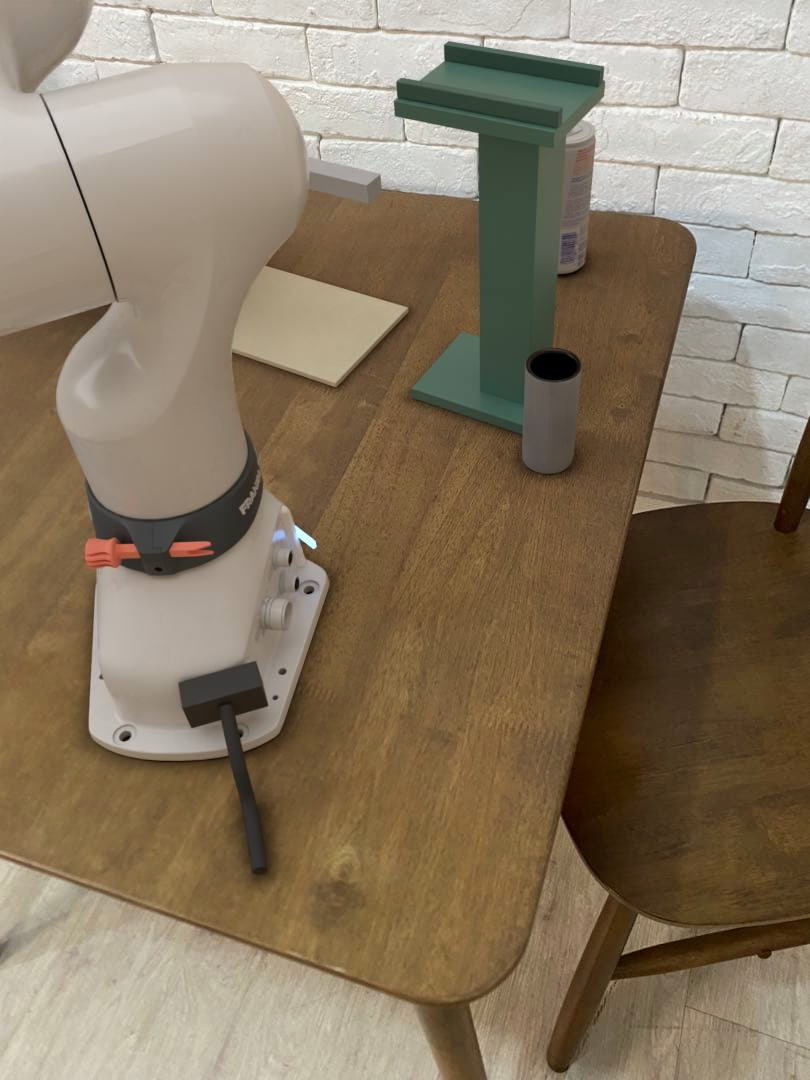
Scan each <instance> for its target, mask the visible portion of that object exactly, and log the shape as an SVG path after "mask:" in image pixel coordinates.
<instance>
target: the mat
mask: <svg viewBox="0 0 810 1080" xmlns="http://www.w3.org/2000/svg"><path fill="white" fill-rule="evenodd" d="M408 313H409V307H408V306H404V305H401V304H397V303H394V302H391V301H387V300H383V299H380V298H378V297H374V296H370V295H366V294H364V293H360V292H356V291H353V290H350V289H346V288H342V287H340V286H335V285H333V284H329V283H326V282H322V281H319V280H315V279H311V278H309V277H305V276H301V275H298V274H294V273H291V272H288V271H285V270H281V269H277V268H274V267H271V266H268V265H265V267H264V268H263V270H262V271H261V273H260V274H259V276H258V278H257V279H256V281H255V283H254V285H253V286H252V288H251V290H250V293H249V295H248V297H247V299H246V301H245V303H244V306H243V309H242V311H241V314H240V317H239V320H238V324H237V327H236V331H235V335H234V340H233V347H232V354H233V353H234V354H236V355H240V356H242V357H246V358H249V359H250V360H251V359H252V360H254V361H257V362H260V363H263V364H265V365H269V366H271V367H274V368H278V369H281V370H282V371H283V370H284V371H286V372H289V373H291V374H296V375H298V376H301V377H304V378H307V379H309V380H313V381H315V382H319V383H321V384H324V385H328V386H331V387H333V388H337V387H338V386H339V385H340V384H341V383H342V382H343V381H344V380H345V379H346V378H347V377H348V376H349V375H350V374H351V373H352V372H353V371H354V370H355V369H356V368H357V366H359V364H360V363H361V362H363V360H364V359H365V358H366V357H367V356H368V355H369V354H370V353H371V352H372V351H373V350H374V348H376V346H377V345H379V343H380V342H382V341H383V339H385V337H386V336H387V335H388V334H389V333H391V331H392V330H393V329H394V328H395V327H396V326H397V325H398V324H399V323H400V322H401V321H402V320H403V318H404V317H406V316H407V315H408Z"/></svg>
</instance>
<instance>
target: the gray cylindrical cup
mask: <svg viewBox="0 0 810 1080" xmlns="http://www.w3.org/2000/svg"><path fill="white" fill-rule="evenodd" d="M582 373H583V363H582V360H581V359H580V357H579V356H578V355H577V354H575V353H574V352H572V351H570V350H568V349H566V348H560V347H553V348H545V349H541V350H538V351H536V352H534V353H533V354H531V355H530V356H529V358H528V359H527V361H526V365H525V388H524V412H523V435H522V436H521V437H522V438H521V439H522V440H521V442H522V443H521V459H522V462H523V463H524V465H525V466H526V467H527V468H528V469H530V470H532V471H533V472H536V473H538V474H542V475H543V474H544V475H552V474H553V475H554V474H559V473H561V472H563V471H565V470H567V469H568V468H569V467H570V466H571V465H572V463H573V461H574V460H573V459H574V454H575V443H576V436H577V435H576V434H577V423H578V414H579V404H580V403H579V402H580V392H581V383H582Z"/></svg>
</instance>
